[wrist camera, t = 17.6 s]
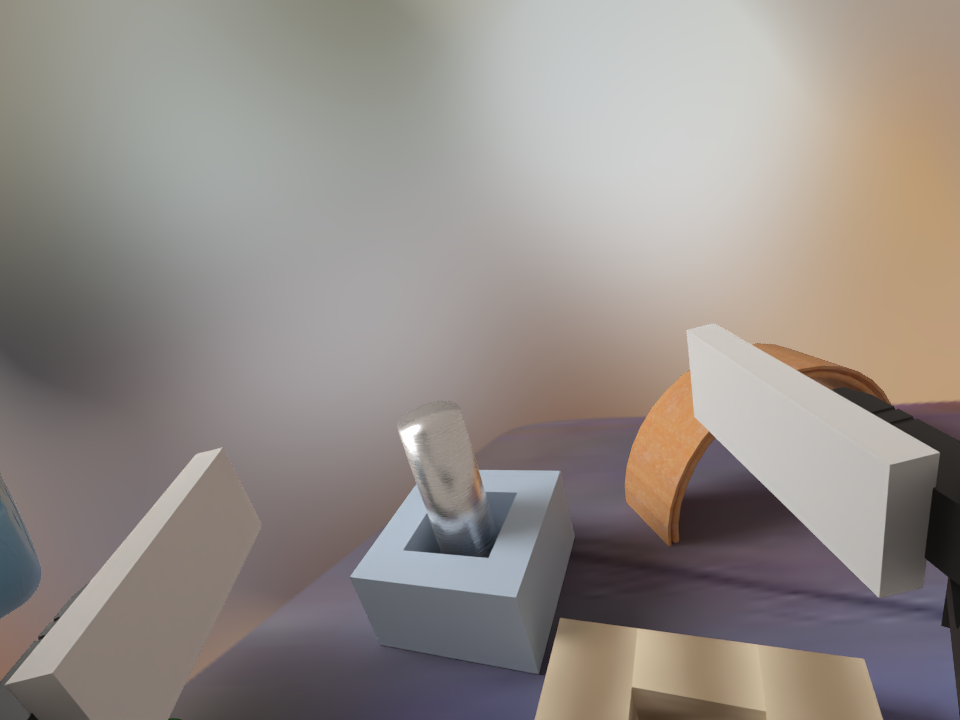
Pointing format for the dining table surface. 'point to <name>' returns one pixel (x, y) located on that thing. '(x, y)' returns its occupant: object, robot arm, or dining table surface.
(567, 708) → the birch block
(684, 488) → the arch
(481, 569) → the slate holder block
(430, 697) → the dining table surface
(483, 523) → the steel axle
